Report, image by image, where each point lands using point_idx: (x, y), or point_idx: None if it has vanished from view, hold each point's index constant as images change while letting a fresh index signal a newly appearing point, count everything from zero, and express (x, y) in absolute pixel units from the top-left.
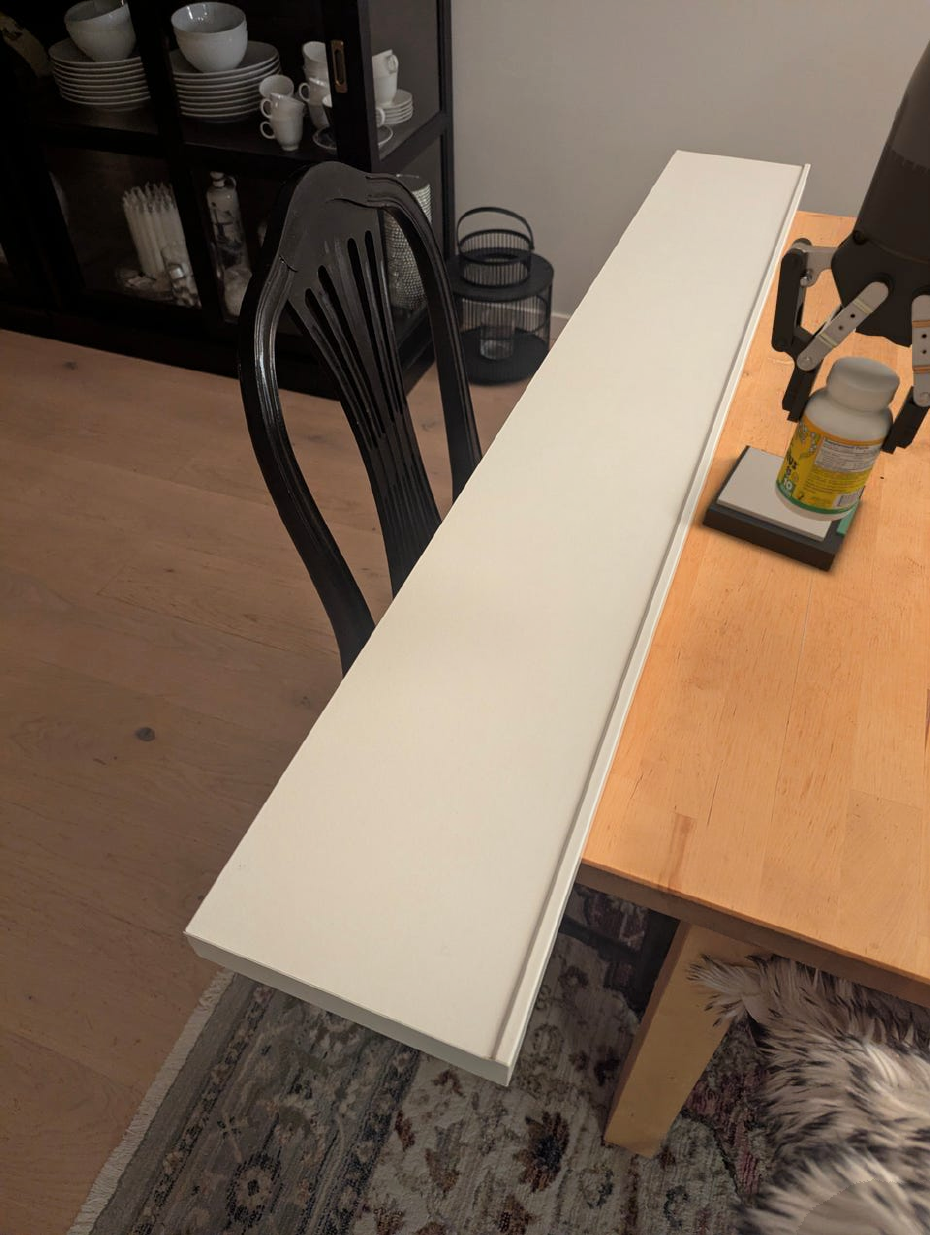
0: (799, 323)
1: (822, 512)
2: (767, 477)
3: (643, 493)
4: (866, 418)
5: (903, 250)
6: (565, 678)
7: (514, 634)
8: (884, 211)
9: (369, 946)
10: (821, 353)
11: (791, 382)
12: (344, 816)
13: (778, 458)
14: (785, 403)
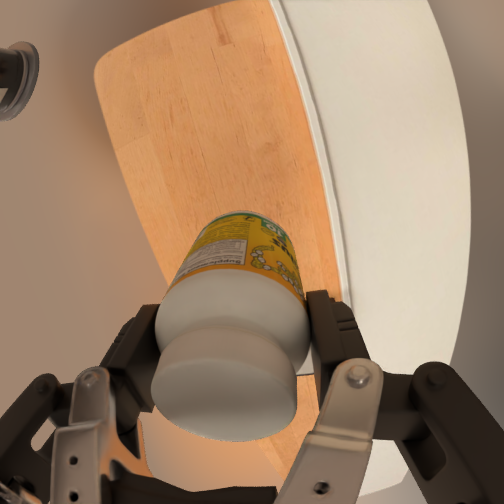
0: (405, 443)
1: (215, 220)
2: (309, 353)
3: (379, 300)
4: (184, 324)
5: None
6: (351, 95)
7: (399, 114)
8: None
9: None
10: (336, 405)
11: (357, 338)
12: None
13: (309, 371)
14: (343, 309)
